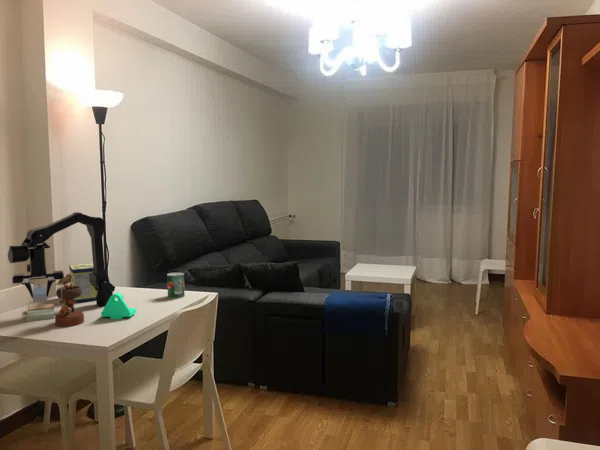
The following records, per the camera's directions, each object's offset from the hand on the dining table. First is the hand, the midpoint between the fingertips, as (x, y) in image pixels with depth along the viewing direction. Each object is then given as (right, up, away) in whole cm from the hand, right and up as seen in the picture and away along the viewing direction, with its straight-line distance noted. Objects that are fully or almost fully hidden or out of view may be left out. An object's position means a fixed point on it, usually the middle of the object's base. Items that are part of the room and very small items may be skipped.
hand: (40, 297), depth 216 cm
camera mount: (+32, -8, +2) cm, 33 cm away
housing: (0, -1, 0) cm, 1 cm away
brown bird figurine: (+16, -9, -7) cm, 19 cm away
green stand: (0, -8, +1) cm, 8 cm away
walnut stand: (-4, -7, +10) cm, 13 cm away
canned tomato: (+48, -5, +35) cm, 59 cm away
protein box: (+5, -5, +33) cm, 33 cm away
